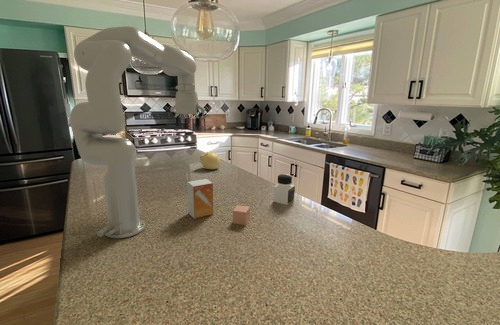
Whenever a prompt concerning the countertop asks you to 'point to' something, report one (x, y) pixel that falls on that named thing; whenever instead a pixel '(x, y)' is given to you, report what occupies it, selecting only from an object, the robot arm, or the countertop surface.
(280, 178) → the medicine bottle
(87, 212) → the countertop surface
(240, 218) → the terracotta block
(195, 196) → the small box
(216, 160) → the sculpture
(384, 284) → the countertop surface
